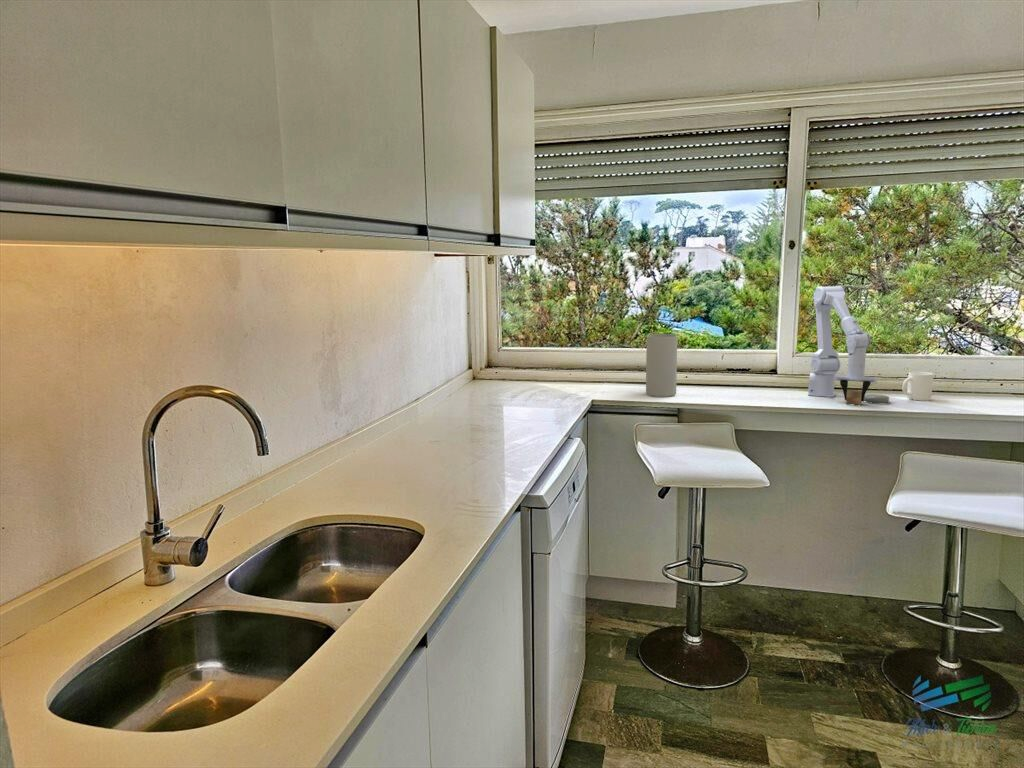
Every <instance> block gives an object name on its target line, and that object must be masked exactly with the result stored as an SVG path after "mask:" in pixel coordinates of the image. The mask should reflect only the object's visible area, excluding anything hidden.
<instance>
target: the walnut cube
mask: <svg viewBox="0 0 1024 768" xmlns="http://www.w3.org/2000/svg"><path fill="white" fill-rule="evenodd" d="M861 398H862V389H861V390H860V389H847V397H846V400H845V405H846V404H854V405H853V406H858V405H861V406H862V404H861V403H862V402H863V401H861Z"/></svg>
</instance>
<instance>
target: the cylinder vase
mask: <svg viewBox="0 0 1024 768" xmlns="http://www.w3.org/2000/svg"><path fill="white" fill-rule="evenodd" d="M645 347H646V352H645V353H646V355H645V356H646V357H645V358H646V361H645V362H646V363H645V376H646V377H645V393H646V395H647V396H649V397H656V398H670V397H675V395H677V378H678V377H677V376H678V375H677V374H678V373H677V372H678V371H677V370H678V334H670V333H653V334H647V335H646V346H645Z"/></svg>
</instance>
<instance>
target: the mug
mask: <svg viewBox="0 0 1024 768" xmlns="http://www.w3.org/2000/svg"><path fill="white" fill-rule="evenodd" d="M933 382H934V373H932V372H928V371H909V372H908V375H907V378H905V379H904V380H903V382H902V386H901V390H902V393H903V394H904V395H905V396H906V398H907V399H908V398H909V399H908V400H910V399H913V400H912V401H916V400H928V401H930V400H932V391H933V384H934V383H933Z"/></svg>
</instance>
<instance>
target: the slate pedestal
mask: <svg viewBox="0 0 1024 768" xmlns="http://www.w3.org/2000/svg"><path fill="white" fill-rule="evenodd" d="M864 401H866V402H872V403H871V404H873V403H887V404H889V403H890V397H889V396H888V395H884V394H875V393H874V394H871V393H869V394H867V393H866V394H865V396H864ZM866 402H865V403H866ZM888 402H889V403H888Z"/></svg>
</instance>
